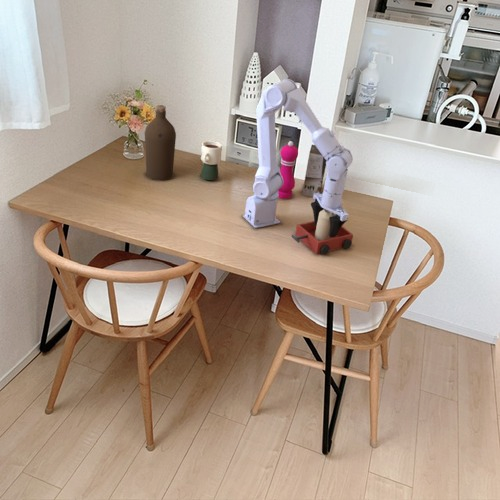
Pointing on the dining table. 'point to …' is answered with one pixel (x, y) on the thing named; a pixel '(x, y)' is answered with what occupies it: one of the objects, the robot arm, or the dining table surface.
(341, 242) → the cart
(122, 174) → the dining table surface
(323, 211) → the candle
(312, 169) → the coffee box
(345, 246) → the cart wheels
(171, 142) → the olive oil
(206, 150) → the character mug
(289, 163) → the pepper mill
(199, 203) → the dining table surface
